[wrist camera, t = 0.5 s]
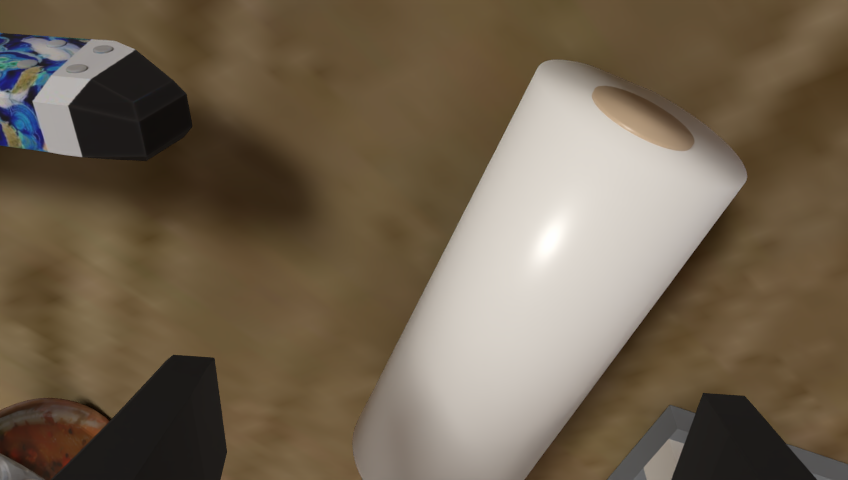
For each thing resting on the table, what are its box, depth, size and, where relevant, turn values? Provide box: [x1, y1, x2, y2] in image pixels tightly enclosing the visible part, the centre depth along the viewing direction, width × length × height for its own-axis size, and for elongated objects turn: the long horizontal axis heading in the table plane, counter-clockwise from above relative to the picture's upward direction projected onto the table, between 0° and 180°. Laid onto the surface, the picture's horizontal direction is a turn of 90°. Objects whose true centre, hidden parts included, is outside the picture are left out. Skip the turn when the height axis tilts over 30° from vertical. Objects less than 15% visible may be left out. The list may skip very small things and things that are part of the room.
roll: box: [352, 60, 747, 480], centre depth 19 cm, size 5×12×5 cm, turn 158°
